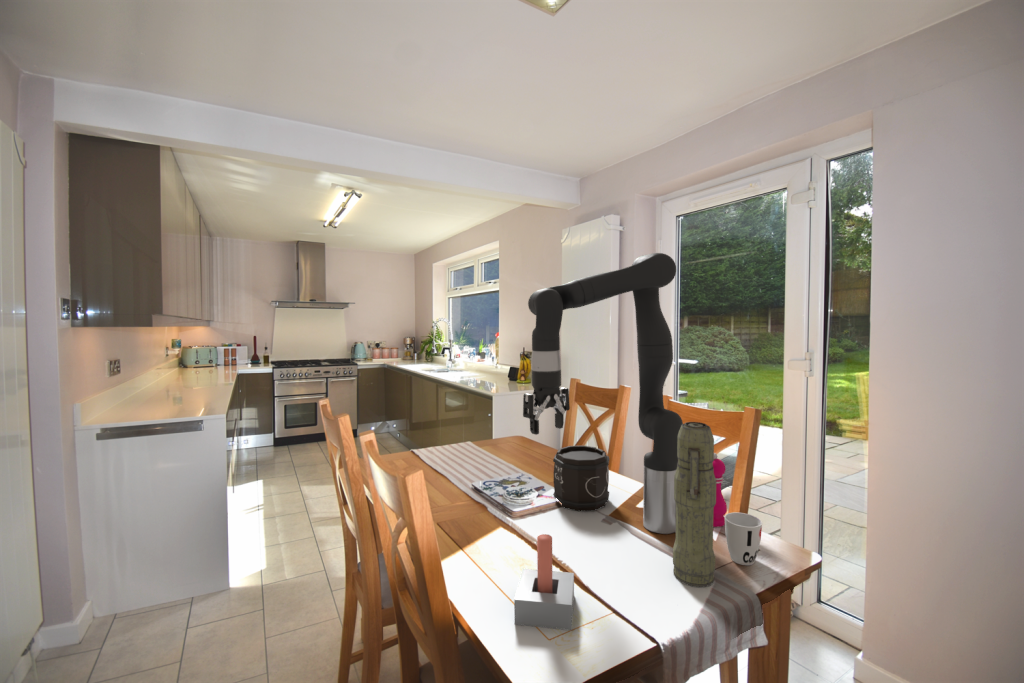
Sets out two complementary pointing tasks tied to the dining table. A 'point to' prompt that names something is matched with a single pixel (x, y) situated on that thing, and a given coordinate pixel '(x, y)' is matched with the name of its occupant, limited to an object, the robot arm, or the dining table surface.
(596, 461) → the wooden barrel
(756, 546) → the cup
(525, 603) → the socket block
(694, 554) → the thermos
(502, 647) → the dining table surface
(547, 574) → the pin
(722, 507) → the pepper mill
